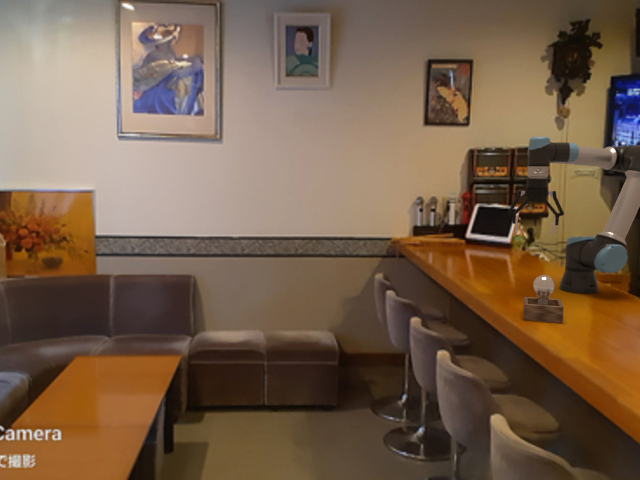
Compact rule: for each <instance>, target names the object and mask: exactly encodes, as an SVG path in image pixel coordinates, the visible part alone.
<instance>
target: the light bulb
mask: <svg viewBox="0 0 640 480" xmlns="http://www.w3.org/2000/svg"><path fill="white" fill-rule="evenodd" d="M532 284H533V285H532V287H533V290H534V292H535V293H536V298H538V305H547V304H548V300H549V299H550V298H551V297H550V296H551V295H552V294H553V292H554V290H555V281H554V280H553V278H552V277H551V276H549V275H545V274H542V275H538V276H537V277H536V278H535V279H534V280H533V283H532ZM547 306H548V305H547Z"/></svg>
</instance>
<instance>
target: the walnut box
mask: <svg viewBox="0 0 640 480" xmlns="http://www.w3.org/2000/svg"><path fill="white" fill-rule="evenodd" d="M547 305H548V306H547ZM547 305H538V298H537V297H532V296H531V297H530V296H523V306H522V307H523V308H522V314H523V321H527V322H528V320H529V322H539V321H541V322H540V323H553V324H563V321H564V305H563V302H562V299H559V298H549V300H548V304H547Z"/></svg>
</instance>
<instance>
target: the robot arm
mask: <svg viewBox="0 0 640 480" xmlns="http://www.w3.org/2000/svg"><path fill="white" fill-rule="evenodd" d="M549 164H563V165H573V166H589V167H600V168H602V169H603V170H606V171H613V172H619V173H622V174H623V173H624V175H625V177H626V179H625V181H624V183H623V185H622V188H621V191H620V193H619V194H618V197H617V199H616V202H615V204H614V205H613V208H612V210H611V213H610V214H609V216H608V219H607V221H606V223H605V225H604V227H603V229H602V231H601V232H598V233H596V236H595V235H593V236H591V235H590V236H569V237H567V239H566V245H565V261H564V263H565V265H564V266H565V267H564V272H563V274H562V277H561V279H560V282H559V289H560V290H561V291H564V292H570V293H573V294H574V293H575V294H595V293H598V292H599V284H598V280H597V276H596V271H597V272H600V273H607V274H614V273H616V272H619V271H620V270H622V269H623V268H624V266H625V265H626V264H627V261H628V257H629V256H628V251H627V249H626V248H627V242H626V237H627V235H628V233H629V231H630V229H631V226H632V224H633V222H634V220H635V218H636V215H637V213H638V211H639V208H640V145H639V144H634V145H633V144H632V145H623V146H622V145H621V146H607V147H605V148H602V147H601V148H600V147H589V146H588V147H587V146H578V144H577V143H575V142H552V141H551V138H550V137H549V136H532V137H530V138H529V142H528V148H527V172H526V173H527V175H526V177H528V178H527V179H526V189H525V190H521V189H519V190H517V195H516V197H515V198H514V201H513V202H512V204H511V205H510V207H509V209H508V211H507V213H508V214H509V215H511V216H512V217H511V218H512V224H513V225H514V233H515V234H516V233H518V222H519V221H518V219H519V218H518V217H519V216H518V215H517V214H518V213H519V212H520V211H521V210H522V209H523V208H524V207H525V206H526V205H527V204H528V203H529V202H531V203H542V202H543V203H544V204H545V205H546V206H547V207H548V209H549V210H550V211H551V213H552V214H553V215H554V216H552V228H551V229H552V230H551V231H552V232H551V234H552V235H555V233H556V226H559V221H560V220H559V219H560V217H562V216H564V215H565V212H564V209H563V208H562V205H561V204H560V202H559V200H558V198H557V192H556V191H555V190H553V191H548V184H549V183H548V182H549V179H548V177H549V170H550V169H549V166H550V165H549ZM524 195H525V196H526V199H525V200H524V201H523V202H522V203H520V205H519V206H518V207H516V205H517V203H518V202H519V201H520V198H521V197H522V196H524ZM548 196H550V197H551V198H552V199H553V201H554V203H555V205H556V208H557V210H558V212H557V211H556V209H555V208H554V207H553V206H552V205H551V204H550V202H549V201H548V200H547V197H548ZM515 207H516V209H515ZM514 209H515V210H514Z"/></svg>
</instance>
